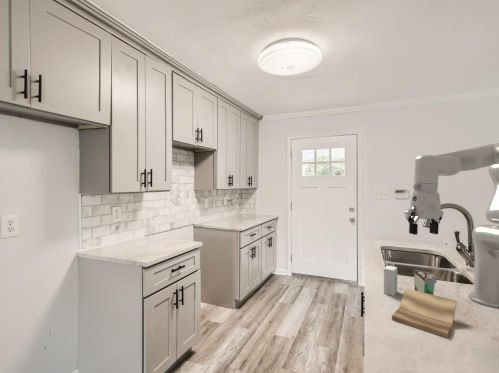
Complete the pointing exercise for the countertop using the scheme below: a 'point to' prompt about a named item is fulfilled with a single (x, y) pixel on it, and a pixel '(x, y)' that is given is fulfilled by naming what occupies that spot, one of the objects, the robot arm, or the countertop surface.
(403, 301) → the oak plank
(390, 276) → the skincare box
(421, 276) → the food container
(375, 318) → the countertop surface
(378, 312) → the countertop surface
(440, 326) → the floor board
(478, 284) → the robot arm
